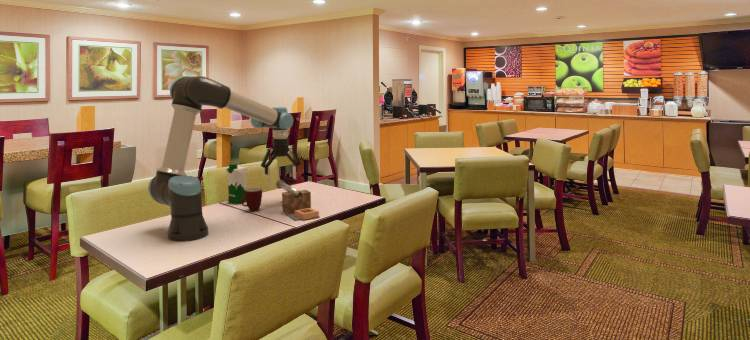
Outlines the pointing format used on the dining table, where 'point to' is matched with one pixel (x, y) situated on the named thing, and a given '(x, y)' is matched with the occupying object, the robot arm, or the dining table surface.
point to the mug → (252, 198)
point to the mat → (297, 217)
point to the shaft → (287, 188)
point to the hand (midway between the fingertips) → (281, 179)
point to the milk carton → (236, 183)
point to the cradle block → (295, 201)
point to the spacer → (306, 213)
